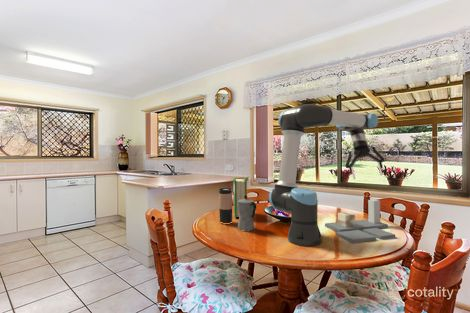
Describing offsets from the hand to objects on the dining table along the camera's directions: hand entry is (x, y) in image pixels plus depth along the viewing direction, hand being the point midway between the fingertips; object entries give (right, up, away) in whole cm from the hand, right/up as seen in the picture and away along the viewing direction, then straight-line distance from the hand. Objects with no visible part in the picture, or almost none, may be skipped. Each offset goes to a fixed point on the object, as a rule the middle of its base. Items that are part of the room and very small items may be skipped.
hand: (367, 176), depth 140 cm
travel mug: (-80, -28, +6) cm, 85 cm away
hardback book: (-71, -28, +24) cm, 80 cm away
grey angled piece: (-9, -27, -6) cm, 29 cm away
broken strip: (-12, -27, -21) cm, 37 cm away
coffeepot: (-68, -28, -7) cm, 74 cm away
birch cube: (-15, -25, -7) cm, 30 cm away
